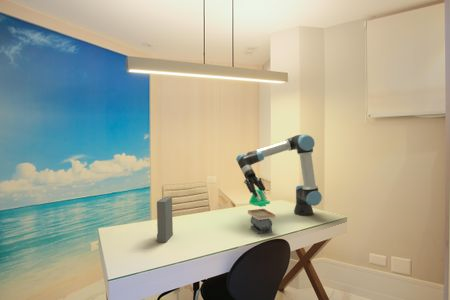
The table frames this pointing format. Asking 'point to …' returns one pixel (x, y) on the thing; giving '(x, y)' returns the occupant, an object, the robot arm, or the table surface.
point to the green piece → (255, 201)
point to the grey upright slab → (164, 219)
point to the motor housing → (261, 220)
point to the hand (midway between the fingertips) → (262, 199)
